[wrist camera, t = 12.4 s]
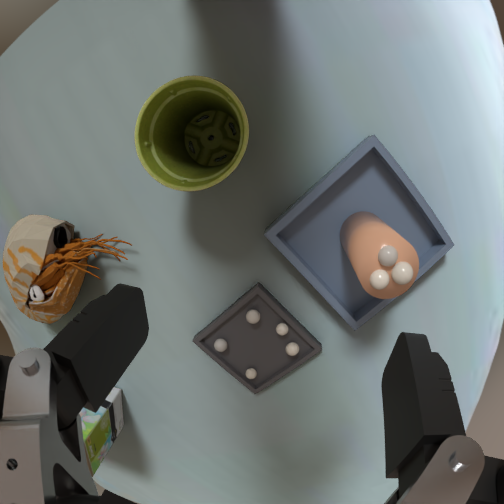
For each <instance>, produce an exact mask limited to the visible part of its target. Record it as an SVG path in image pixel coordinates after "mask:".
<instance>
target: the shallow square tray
mask: <svg viewBox="0 0 504 504" xmlns="http://www.w3.org/2000/svg"><path fill="white" fill-rule="evenodd" d="M361 211H366V212H371V213H373V214H375V215H376V216H378V217H379V218H380V219H381V220H383V221H384V222H385V223H386V224H387V225H389V226H390V227H391V228H392V229H393V230H395V231H396V232H397V233H398V234H399V235H401V236H402V237H403V238H404V239H405V240H406V241H408V242H409V243H410V244H411V245H412V246H413V247H414V249H415V250H416V252H417V255H418V258H419V271H418V275H417V277H416V279H415V281H416V280H417V279H418V278H420V277H421V276H422V275H423V274H424V273H425V272H426V271H427V270H428V269H430V268H431V267H432V266H433V265H434V264H435V263H436V262H437V261H438V260H439V259H440V258H441V257H442V256H444V255H445V254H446V253H447V252H448V251H449V250H450V249H451V248H452V247H453V246H454V243H453V242H452V240H451V238H450V237H449V235H448V234H447V232H446V231H445V229H444V227H443V226H442V224H441V223H440V221H439V220H438V218H437V217H436V215H435V214H434V212H433V211H432V209H431V208H430V206H429V205H428V204H427V202H426V201H425V199H424V198H423V196H422V195H421V194H420V192H419V191H418V189H417V188H416V187H415V185H414V184H413V183H412V181H411V180H410V179H409V177H408V176H407V175H406V173H405V172H404V171H403V169H402V168H401V167H400V165H399V164H398V163H397V162H396V160H395V159H394V158H393V157H392V155H391V154H390V153H389V152H388V150H387V149H386V148H385V147H384V146H383V144H382V143H381V142H380V141H379V140H378V138H377V137H376V136H375V135H371V136H368V137H367V138H366V139H364V140H363V141H362V142H361V143H360V144H359V145H358V146H357V147H356V148H354V149H353V150H352V151H351V152H350V153H349V154H348V155H347V156H346V157H345V158H343V159H342V160H341V161H340V162H339V163H338V164H337V165H336V166H335V167H333V168H332V169H331V170H330V171H329V172H328V173H327V174H326V175H325V176H324V177H322V178H321V179H320V180H319V181H318V182H317V183H316V184H315V185H314V186H313V187H311V188H310V189H309V190H308V191H307V192H306V193H305V194H304V195H303V196H302V197H300V198H299V199H298V200H297V201H296V202H295V203H294V204H293V205H292V206H291V207H290V208H288V209H287V210H286V211H285V212H284V213H283V214H282V215H281V216H280V217H279V218H277V219H276V220H275V221H274V222H273V223H272V224H271V225H270V226H269V227H268V228H267V229H266V230H265V233H264V235H265V236H266V237H267V239H268V240H269V241H270V242H271V243H272V244H273V245H274V246H275V247H276V248H277V249H278V250H279V251H280V252H281V253H282V254H283V255H284V256H285V257H286V258H287V259H288V260H289V261H290V262H291V264H292V265H293V266H294V267H295V268H296V269H297V270H298V271H299V272H300V273H301V274H302V275H303V276H304V277H305V278H306V279H307V280H308V281H309V282H310V284H311V285H312V286H313V287H314V288H315V289H316V290H317V291H318V292H319V293H320V294H321V295H322V296H323V297H324V298H325V299H326V300H327V302H328V303H329V304H330V305H331V306H332V307H333V308H334V309H335V310H336V311H337V312H338V313H339V314H340V315H341V316H342V318H343V319H344V320H345V321H346V322H347V323H348V324H349V325H350V326H351V327H352V328H353V329H354V330H356V329H358V328H359V327H360V326H362V325H363V324H364V323H365V322H367V321H368V320H369V319H371V318H372V317H373V316H374V315H376V314H377V313H378V312H379V311H381V310H382V309H383V308H384V307H386V306H387V305H388V304H389V303H390V302H392V301H393V300H394V299H395V298H396V297H395V298H391V299H380V298H376V297H373V296H372V295H370V294H369V293H367V292H366V291H365V290H364V288H363V287H362V285H361V283H360V281H359V279H358V277H357V275H356V273H355V270H354V268H353V266H352V264H351V262H350V260H349V258H348V256H347V254H346V252H345V250H344V249H343V247H342V244H341V242H340V230H341V227H342V224H343V223H344V221H345V220H346V219H347V218H348V217H349V216H350V215H352V214H354V213H356V212H361ZM415 281H414V282H415ZM397 297H398V296H397Z"/></svg>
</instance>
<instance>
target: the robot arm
mask: <svg viewBox="0 0 504 504" xmlns="http://www.w3.org/2000/svg"><path fill="white" fill-rule="evenodd" d="M148 331H149V325H148V319H147V313H146V307H145V301H144V295H143V291H142V290H141V289H140V288H138V287H133V286H129V285H124V284H117V285H116V286H115V287H114V288H113V289H112V290H111V291H110V292H109V293H108V294H107V295H103V296H101V297H99V298H97V299H95V300H93V301H91V302H90V303H89V304H88V305H87V306H86V307H85V308H84V309H83V310H82V311H81V313H80V314H78V315H77V316H76V317H75V318H74V319H73V321H71V322H70V323H69V324H68V325H67V326H66V327H65V328H64V329H63V330H62V331H61V332H60V333H59V334H58V335H57V336H56V337H55V338H54V339H53V340H52V341H51V342H50V343H49V344H48V345H47V346H46V347H45V348H44V349H40V348H29V349H25V350H23V351H21V352H19V353H18V354H17V355H16V356H15V357H9V356H3V355H0V504H137V503H134V502H132V501H130V500H127V499H125V498H123V497H121V496H118V495H116V494H114V493H112V492H110V491H108V490H106V489H105V490H104V492H103V494H102V496H98V492H97V489H96V485H95V483H94V480H93V478H92V476H91V474H90V472H89V469H88V466H87V460H86V454H85V447H84V439H83V431H82V422H81V416H80V414H79V413H80V411H81V410H82V409H83V407H84V408H86V409H88V410H90V411H92V412H94V413H96V412H97V411H98V409H99V408H100V406H101V405H102V404H103V402H104V401H105V399H106V398H107V396H108V395H109V393H110V392H111V390H112V389H113V387H114V386H115V385H116V383H117V382H118V380H119V379H120V377H121V376H122V375H123V373H124V372H125V370H126V369H127V367H128V366H129V365H130V363H131V362H132V360H133V359H134V357H135V356H136V355H137V353H138V352H139V350H140V349H141V348H142V346H143V345H144V343H145V342H146V339H147V336H148ZM454 390H455V389H454V386H453V382H452V381H451V375H450V372H449V369H448V365H447V364H446V363H445V361H444V360H443V359H442V357H441V356H440V355H439V353H436V352H431V349H430V346H429V342H428V339H427V337H426V335H424V334H415V333H405V332H402V333H401V334H400V335H399V337H398V339H397V341H396V344H395V346H394V348H393V351H392V353H391V355H390V358H389V360H388V362H387V365H386V367H385V369H384V373H383V377H382V398H383V412H384V429H385V458H386V478H398V479H399V487H398V488H397V489H396V490H395V491H394V492H393V493H392V495H391V496H390V497H389V498H388V499H387V501H386V502H385V503H384V504H504V460H502V459H497V458H493V457H488V456H485V455H484V453H483V450H482V448H481V447H480V445H479V444H478V443H477V442H476V441H475V440H473V439H472V438H470V437H467V436H466V434H465V429H464V425H463V421H462V416H461V412H460V408H459V404H458V400H457V397H456V393H454Z"/></svg>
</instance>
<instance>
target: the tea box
mask: <svg viewBox="0 0 504 504" xmlns="http://www.w3.org/2000/svg"><path fill="white" fill-rule="evenodd" d="M79 414H80V416H81V422H82V431H83V439H84V447H85V454H86V460H87V466H88V469H89V472H90V474H91V476H92V477H93V475H94V474H95V472H96V470H97V469H98V467H99V466H100V464H101V462H102V461H103V459H104V457H105V456H106V454H107V452H108V451H109V449H110V447H111V446H112V444H113V443H114V441H115V439H116V438H117V436H118V434H119V433H120V431H121V429H122V428H123V426H124V421H123V408H122V393H121V389H119V388H116V387H113V389H112V390H111V392H110V393H109V395H108V396H107V398H106V399H105V401H104V402H103V404H102V405H101V406H100V408H99V409H98V411H97V412H96V413H94V412H92V411H90V410H88V409H86V408H84V407H83V409H82V410H81V411H80V413H79Z"/></svg>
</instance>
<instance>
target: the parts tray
mask: <svg viewBox="0 0 504 504" xmlns="http://www.w3.org/2000/svg"><path fill="white" fill-rule="evenodd" d="M193 342H194V343H195V344H196V345H198V346H199V347H200V348H201V349H202V350H203V351H204V352H205V353H207V354H208V355H209V356H210V357H211V358H212V359H213V360H215V361H216V362H217V363H218V364H219V365H220V366H222V367H223V368H224V369H225V370H226V371H227V372H229V373H230V374H231V375H232V376H233V377H235V378H236V379H237V380H238V381H240V382H241V383H242V384H243V385H244V386H246V387H247V388H248V389H249V390H251V391H252V392H253V393H254V394H256V393H258V392H259V391H261V390H263V389H264V388H266V387H267V386H269V385H271V384H272V383H274V382H275V381H277V380H278V379H280V378H281V377H283V376H284V375H286V374H287V373H289V372H290V371H292V370H293V369H295V368H296V367H298V366H299V365H301V364H302V363H304V362H305V361H307V360H308V359H310V358H311V357H312V356H314V355H315V354H317V353H318V352H319V351H321V350H322V345H321V343H320V342H319V341H318V340H317V339H316V338H315V337H314V336H313V335H312V334H311V333H310V332H309V331H308V330H307V329H306V328H305V327H303V326H302V325H301V324H300V323H299V322H298V321H297V320H296V319H295V318H294V317H293V316H292V315H291V314H290V313H289V312H288V311H287V310H286V309H285V308H284V307H283V306H282V305H281V304H280V303H279V302H278V301H277V300H276V299H275V298H274V297H273V296H272V295H271V294H270V293H269V292H268V291H267V290H266V289H265V288H264V287H263V286H262V285H261V284H260V283H259V282H258V283H257V284H256V285H255V286H254V287H252V288H251V289H250V290H249V291H248V292H247V293H245V294H244V295H243V296H242V297H241V298H239V299H238V300H237V301H236V302H235V303H234V304H232V305H231V306H230V307H229V308H228V309H226V310H225V311H224V312H223V313H222V314H221V315H219V316H218V317H217V318H216V319H215V320H213V321H212V322H211V323H210V324H209V325H207V326H206V327H205V328H204V329H203V330H201V331H200V332H199V333H198V334H197V335H195V337H194V339H193Z"/></svg>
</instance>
